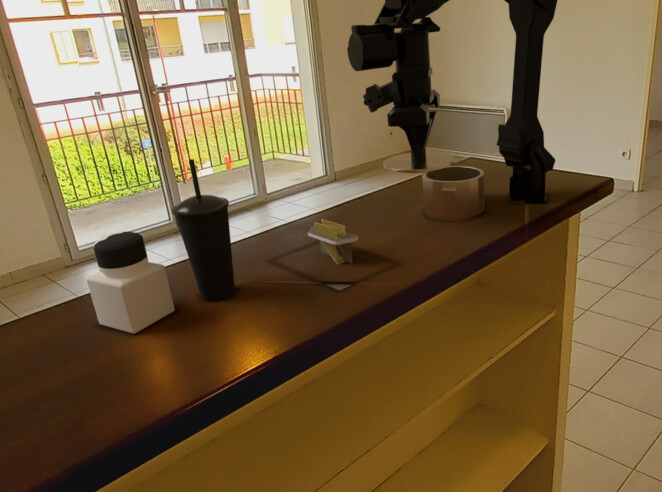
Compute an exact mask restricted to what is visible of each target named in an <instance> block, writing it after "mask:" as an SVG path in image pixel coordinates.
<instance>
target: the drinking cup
mask: <svg viewBox="0 0 662 492" xmlns="http://www.w3.org/2000/svg"><path fill="white" fill-rule="evenodd" d="M188 163H189V168H190V174H191V178H192V183H193V188H194V194H195V195H193V196H190V197H187V198H184V199H183V200H182V201H180V202H179V203H176V204H175V205H174V206H172V208H171V214H172V215H173V216H175V219H176V223H177V226H178V229H179V232H180V236H181V238H182V242H183V244H184V247H185V251H186V255H187V257H188V260H189V263H190V266H191V269H192V272H193V276H194V279H195V282H196V285H197V288H198V291H199V294H200V297H201V299H202V300H203V301H204V300H205V301H207V302H216V301H222V300H226V299H227V298H228V299H229V298H230V297H231V296H233V295H234V294H235V292H236V286H235V275H234V264H233V252H232V251H233V250H232V241H231V229H230V217H229V208H228V207H229V206H230V201H229V200H228V199H227V198H226V197H221V196H218V195H215V194H201V188H200V184H199V177H198V172H197V168H196V163H195V159H194V158H192V159H188Z"/></svg>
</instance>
